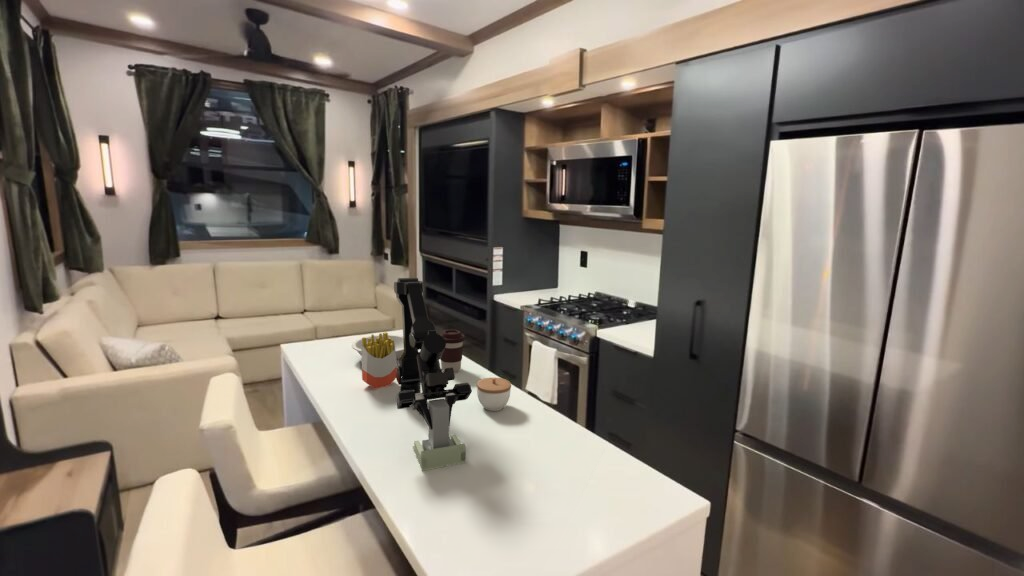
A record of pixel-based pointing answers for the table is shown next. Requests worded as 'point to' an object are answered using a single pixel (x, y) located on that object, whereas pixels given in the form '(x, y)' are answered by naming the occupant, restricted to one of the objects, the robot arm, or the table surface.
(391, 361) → the french fries container
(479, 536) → the table surface
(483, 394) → the lidded jar
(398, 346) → the soup bowl
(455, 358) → the coffee cup
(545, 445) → the table surface
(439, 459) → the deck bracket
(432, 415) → the grey pillar on base
